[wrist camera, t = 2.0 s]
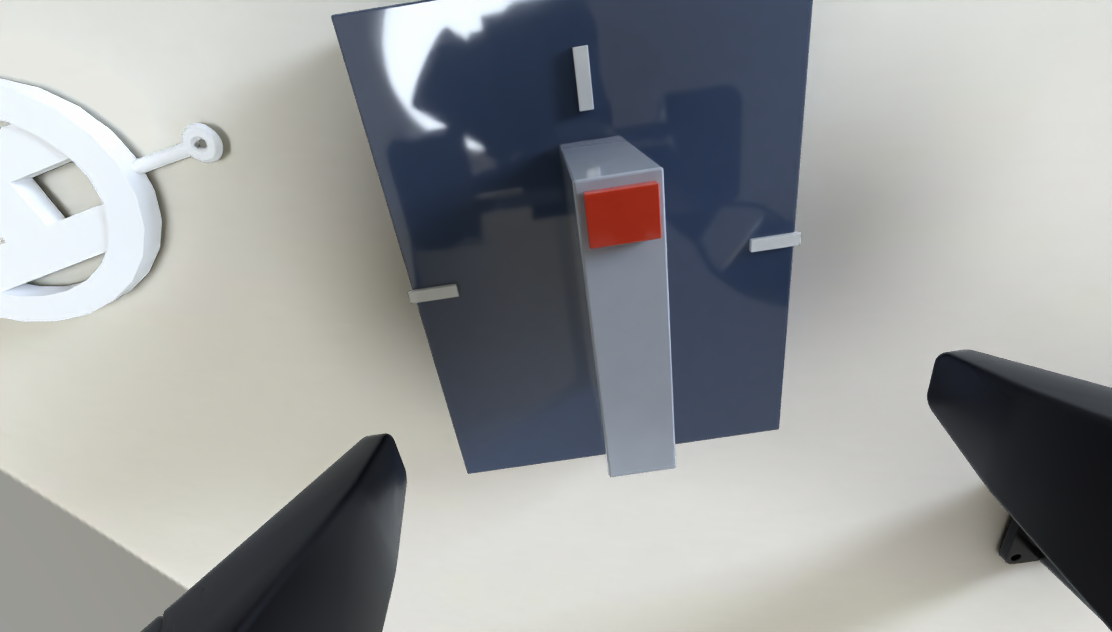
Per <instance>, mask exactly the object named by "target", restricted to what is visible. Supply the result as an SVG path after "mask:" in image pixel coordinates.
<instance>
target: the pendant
mask: <svg viewBox="0 0 1112 632" xmlns="http://www.w3.org/2000/svg"><path fill="white" fill-rule="evenodd" d="M0 120H1V121H6V122H10V123H11V124H9V125H6V126H4V127H2V128H0V237H1V238H2V239H3V240H4V241H5V243H2V244H0V317H1V318H7V319H12V320H18V321H24V322H29V321H61V320H65V319H69V318H74V317H78V316H82V315H86V314H89V313H91V312H93V311H95V310H97V309H99V308H101V307H102V306H104V305H106V304H108V303H110V302H112V301H114V300H115V299H117V298H119V297H121V296H122V295H124V294H126V293H128V292H130V291H131V290H132V289H133V288H134V287H135V286H136V285H137V284H138V283H139V282H140V281H141V280H142V279H143V278H144V277H145V276H146V275H147V274H148V273H149V272H150V269H151V267H152V265H153V263H154V260H155V258H156V256H157V254H158V252H159V249H160V242H161V229H162V218H161V214H160V210H159V206H158V201H157V197H156V193H155V190H154V188H153V186H152V184H151V183H150V181H149V179H148V177H147V175H146V172H149V171H151V170H154V169H157V168H160V167H162V166H165V165H168V164H171V163H173V162H176V161H179V160H182V159H184V158H187V157H190V156H192V157H193V158H195V159H197V160H198V161H200V162H204V163H213V162H216V161H217V160H219V159H220V157H221V155H222V153H223V144H222V141H221V139H220V137H219V136H218V134H217V133H216V132H215V131H214V130H213V129H211V128H210V127H208V126H207V125H203V124H200V123H195V124H190V125H189V126H187V127H186V128H185V129H184V132H183V134H182V143H180V144H177V145H174V146H172V147H169V148H166V149H163V150H161V151H158V152H155V153H153V154H150V155H147V156H144V157H142V158H139V159H137V158H136V157H135V156H134V155H133V154H132V153H131V152H130V150H129V149H128V148H127V147H126V146H125V145H124V144H123V143H122V141H121V140H120V139H119V138H118V137H117V136H116V135H115V134H114V133H113V131H111V130H110V129H109V128H107V127H106V126H105V125H103V124H102V123H101V122H99V121H98V120H97V119H95V118H94V117H92V116H91V115H90V114H88V113H87V112H86V111H84V110H83V109H82V108H80V107H79V106H77V105H75V104H73V103H71V102H69V101H66V100H64V99H62V98H60V97H58V96H56V95H54V94H52V93H49V92H47V91H45V90H43V89H41V88H38V87H34V86H30V85H26V84H22V83H18V82H14V81H9V80H5V79H1V78H0ZM200 139H203V140H205V141H206V143H207V147H206V148H202V147H201V146H200V145H199V142H198V141H199V140H200ZM71 161H73V162H74V163H75V164H76V165H77V166H78V167H79V168H80V169H81V170H82V171H83V172H84V174H85V175H86V176H87V177H88V178H89V180H90V181H91V183H92V185H93V186H94V188H95V190H96V191H97V193H98V195H99V196H100V198H101V200H102V202H103V204H101V205H98V206H96V207H93V208H91V209H88V210H86V211H83V212H80V213H78V214H75V215H73V216H70V217H68V218H65V217H64V216H63V215H62V213H61V212H60V211H59V210H58V209H57V207H56V206H55V205H54V204H53V203H52V201H51V200H50V199H49V198H48V196H47V195H46V194H45V193H44V192H43V190H42V189H41V188H40V187H39V185H38V184H37V183H36V182H35V181H34V179H33V178H32V177H35V176H37V175H40V174H42V173H45V172H47V171H50V170H52V169H54V168H57V167H59V166H62V165H64V164H67V163H69V162H71ZM105 252H106V253H105ZM102 253H105V256H104V258H103V261H102V263H101V265H100V266H99V267H98V269H97V270H96V271H95V272H94V273H93V274H92V275H91V276H90V277H89V278H88V279H87V280H86V281H84V282H81V283H77V284H73V285H68V286H36V285H30V284H25V283H27V282H29V281H32V280H34V279H37V278H40V277H42V276H45V275H47V274H50V273H53V272H55V271H58V270H61V269H63V268H66V267H68V266H71V265H74V264H76V263H79V262H81V261H84V260H87V259H89V258H92V257H94V256H97V255H100V254H102Z"/></svg>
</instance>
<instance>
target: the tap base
mask: <svg viewBox="0 0 1112 632" xmlns="http://www.w3.org/2000/svg"><path fill="white" fill-rule="evenodd" d="M812 4H813V0H421V1H415V2H409V3H402V4H396V5H390V6H384V7H378V8H372V9H366V10H359V11H353V12H347V13H341V14H335V15H332V16H331V18H332V22H333V25H334V28H335V32H336V35H337V38H338V42H339V45H340V48H341V52H342V55H343V58H344V62H345V65H346V69H347V72H348V75H349V79H350V82H351V85H352V89H353V92H354V95H355V99H356V102H357V105H358V109H359V112H360V115H361V119H362V122H363V125H364V129H365V132H366V135H367V139H368V142H369V145H370V149H371V152H372V155H373V159H374V162H375V165H376V169H377V172H378V176H379V179H380V182H381V186H382V189H383V192H384V196H385V199H386V202H387V206H388V209H389V212H390V216H391V219H392V222H393V226H394V229H395V232H396V236H397V239H398V242H399V246H400V249H401V252H402V256H403V259H404V262H405V266H406V269H407V273H408V276H409V279H410V283H411V286H412V289H413V290H409V291H408V295H409V299H410V302H411V304H412V303H417V306H418V309H419V313H420V316H421V319H422V323H423V326H424V329H425V333H426V336H427V339H428V343H429V346H430V349H431V353H432V356H433V359H434V363H435V366H436V369H437V373H438V376H439V380H440V383H441V386H442V390H443V393H444V396H445V400H446V403H447V406H448V410H449V413H450V416H451V420H452V423H453V426H454V430H455V433H456V436H457V440H458V443H459V446H460V450H461V453H462V456H463V460H464V463H465V466H466V470H467V473H468V474H471V473H478V472H485V471H492V470H499V469H506V468H513V467H520V466H527V465H533V464H540V463H547V462H554V461H561V460H568V459H575V458H582V457H589V456H596V455H603V454H605V452H604V447H603V442H602V437H601V432H600V427H599V422H598V417H597V412H596V407H595V402H594V396H593V391H592V386H591V381H590V376H589V370H588V363H587V355H586V348H585V340H584V333H583V325H582V318H581V310H580V303H579V295H578V288H577V280H576V273H575V265H574V258H573V250H572V243H571V235H570V228H569V220H568V213H567V205H566V198H565V190H564V183H563V175H562V168H561V160H560V153H559V145H561V144H567V143H574V142H580V141H587V140H593V139H599V138H606V137H612V136H621V137H623V138H624V139H625V140H627V141H628V142H629V143H631V144H632V145H633V146H635V147H636V148H637V149H639V150H640V151H641V152H643V153H644V154H645V155H647V156H648V157H649V158H651V159H652V160H653V161H655V162H656V163H657V164H659V165H660V166H661V167H663V169H664V191H665V215H666V239H667V262H668V286H669V310H670V333H671V357H672V380H673V404H674V428H675V444H680V443H687V442H694V441H701V440H708V439H715V438H722V437H729V436H735V435H742V434H749V433H756V432H763V431H770V430H777V429H779V421H780V408H781V395H782V383H783V370H784V358H785V345H786V332H787V320H788V307H789V294H790V282H791V269H792V256H793V246H797V245H800V242H801V233H800V232H794V231H795V219H796V206H797V193H798V181H799V168H800V155H801V143H802V130H803V118H804V105H805V92H806V80H807V67H808V54H809V42H810V29H811V17H812Z"/></svg>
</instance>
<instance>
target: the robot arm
mask: <svg viewBox="0 0 1112 632" xmlns="http://www.w3.org/2000/svg"><path fill="white" fill-rule="evenodd" d="M927 400H928V404H929V406H930V408H931V410H932V412H933V413H934V414H935V416H936V417H937V419H938V420H939V421H940V423H941V424H942V426H943V427H944V428H945V430H946V431H947V433H948V434H949V435H950V437H951V438H952V440H953V441H954V442H955V444H956V445H957V447H958V448H959V449H960V451H961V452H962V453H963V455H964V456H965V458H966V459H967V460H968V462H969V463H970V465H971V466H972V467H973V469H974V470H975V472H976V473H977V474H978V476H979V477H980V478H981V480H982V481H983V482H984V484H985V485H986V486H987V488H988V489H989V490H990V492H991V493H992V494H993V495H994V496H995V498H996V499H997V500H998V501H999V502H1000V504H1001V505H1002V506H1003V507H1004V508H1005V509H1006V511H1007V512H1008V513H1009V514H1010V515H1011V516H1012V517H1013V518H1012V520H1011V523H1010V525H1009V528H1008V530H1007V533H1006V535H1005V538H1004V541H1003V543H1002V546H1001V548H1000V551H999V555H1000V556H1001V557H1002V558H1003V559H1004V560H1005V562H1006V563H1008V564H1016V563H1023V562H1031V561H1038V560H1040V561H1041V562H1042V563H1043V564H1044V565H1045V566H1046V567H1047V568H1048V569H1049V570H1050V571H1051V572H1052V573H1053V574H1054V575H1055V576H1056V577H1057V578H1058V579H1060V580H1061V581H1062V582H1063V583H1064V584H1065V585H1066V586H1067V587H1068V588H1069V589H1070V590H1071V591H1072V592H1073V593H1074V594H1075V595H1076V596H1077V597H1078V598H1079V599H1080V600H1081V601H1082V602H1083V603H1084V604H1085V605H1086V606H1087V607H1088V608H1090V609H1091V610H1092V611H1093V612H1094V613H1095V614H1096V615H1097V616H1098V617H1099V618H1100V619H1101V620H1102V621H1103V622H1104V623H1105V625H1106V626H1107V627H1108V628H1109V629H1110V630H1111V631H1112V388H1110V387H1106V386H1103V385H1099V384H1095V383H1092V382H1088V381H1084V380H1081V379H1077V378H1073V377H1070V376H1066V375H1062V374H1058V373H1055V372H1051V371H1047V370H1044V369H1040V368H1036V367H1033V366H1029V365H1025V364H1022V363H1018V362H1014V361H1010V360H1007V359H1003V358H999V357H996V356H992V355H988V354H985V353H981V352H977V351H973V350H958V351H951V352H945V353H942V354H940V355H939V356H938V357H937V358H936V360H935V363H934V367H933V372H932V376H931V380H930V384H929V388H928V393H927ZM406 484H407V478H406V471H405V468H404V465H403V462H402V460H401V457H400V454H399V452H398V449H397V446H396V444H395V441H394V439H393V437H392V436H391V435H389V434H386V433H385V434H378V435H371V436H366V437H364V438H363V439H361V440H360V441H359V442H358V443H357V444H356V445H354V446H353V447H352V448H351V449H350V450H349V451H348V452H346V453H345V454H344V455H343V456H342V457H341V458H340V459H338V460H337V461H336V462H335V463H334V464H333V465H332V466H330V467H329V468H328V469H327V470H326V471H325V472H323V473H322V474H321V475H320V476H319V477H318V478H317V479H315V480H314V481H313V482H312V483H311V484H310V485H309V486H307V487H306V488H305V489H304V490H303V491H302V492H301V493H299V494H298V495H297V496H296V497H295V498H294V499H293V500H291V501H290V502H289V503H288V504H287V505H286V506H285V507H283V508H282V509H281V510H280V511H279V512H278V513H276V514H275V515H274V516H273V517H272V518H271V519H270V520H268V521H267V522H266V523H265V524H264V525H263V526H262V527H260V528H259V529H258V530H257V531H256V532H255V533H254V534H252V535H251V536H250V537H249V538H248V539H247V540H245V541H244V542H243V543H242V544H241V545H240V546H239V547H237V548H236V549H235V550H234V551H233V552H232V553H231V554H229V555H228V556H227V557H226V558H225V559H224V560H223V561H221V562H220V563H219V564H218V565H217V566H216V567H214V568H213V569H212V570H211V571H210V572H209V573H208V574H206V575H205V576H204V577H203V578H202V579H201V580H200V581H198V582H197V583H196V584H195V585H194V586H193V587H192V588H190V589H189V590H188V591H187V592H186V593H185V594H183V595H182V596H181V597H180V598H179V599H178V600H177V601H176V602H174V603H173V604H172V605H171V606H170V607H169V608H167V609H166V610H165V612H164V614H163V616H159V617H157V618H156V619H155V620H154V621H152V622H151V623H150V624H149V625H148V626H147V627H146V628H144V629H143V630H142V631H141V632H382V630H383V626H384V621H385V617H386V613H387V609H388V604H389V600H390V596H391V591H392V587H393V582H394V577H395V573H396V566H397V559H398V551H399V543H400V534H401V526H402V518H403V509H404V501H405V493H406Z"/></svg>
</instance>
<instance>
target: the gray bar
mask: <svg viewBox="0 0 1112 632" xmlns="http://www.w3.org/2000/svg"><path fill="white" fill-rule="evenodd" d="M559 153H560V160H561V168H562V175H563V183H564V190H565V198H566V205H567V213H568V220H569V228H570V235H571V243H572V250H573V258H574V265H575V273H576V280H577V288H578V295H579V303H580V310H581V318H582V325H583V333H584V340H585V348H586V355H587V363H588V370H589V376H590V381H591V386H592V391H593V396H594V402H595V407H596V412H597V417H598V422H599V427H600V432H601V437H602V442H603V447H604V452H605V457H606V462H607V468H608V473H609V476H610V477H616V476H623V475H630V474H637V473H644V472H651V471H658V470H665V469H672V468H676V451H675V428H674V404H673V380H672V357H671V333H670V310H669V286H668V262H667V239H666V215H665V191H664V169H663V167H661V166H660V165H659V164H657V163H656V162H655V161H653V160H652V159H651V158H649V157H648V156H647V155H645V154H644V153H643V152H641V151H640V150H639V149H637V148H636V147H635V146H633V145H632V144H631V143H629V142H628V141H627V140H625V139H624V138H623V137H621V136H612V137H606V138H599V139H593V140H587V141H580V142H574V143H567V144H561V145H559Z"/></svg>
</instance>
